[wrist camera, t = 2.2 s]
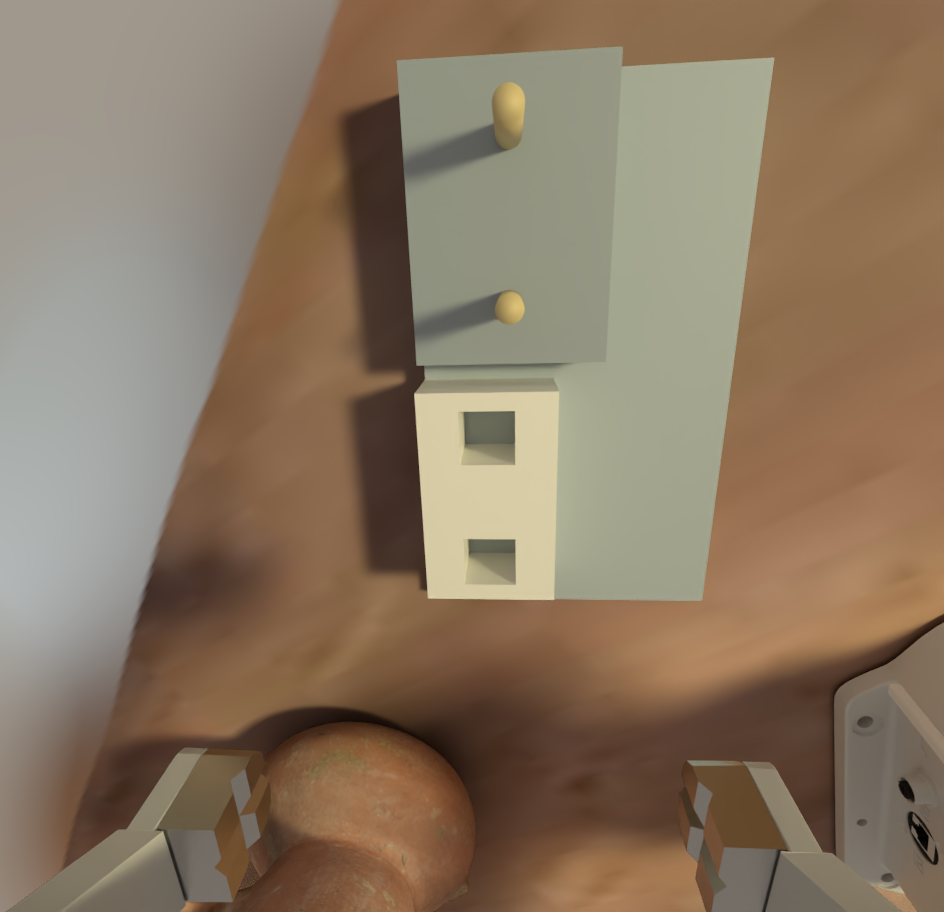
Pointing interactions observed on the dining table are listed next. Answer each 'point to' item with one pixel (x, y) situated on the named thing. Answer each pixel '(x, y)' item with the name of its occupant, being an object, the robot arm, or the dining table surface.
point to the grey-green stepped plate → (591, 281)
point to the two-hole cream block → (488, 488)
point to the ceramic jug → (358, 826)
